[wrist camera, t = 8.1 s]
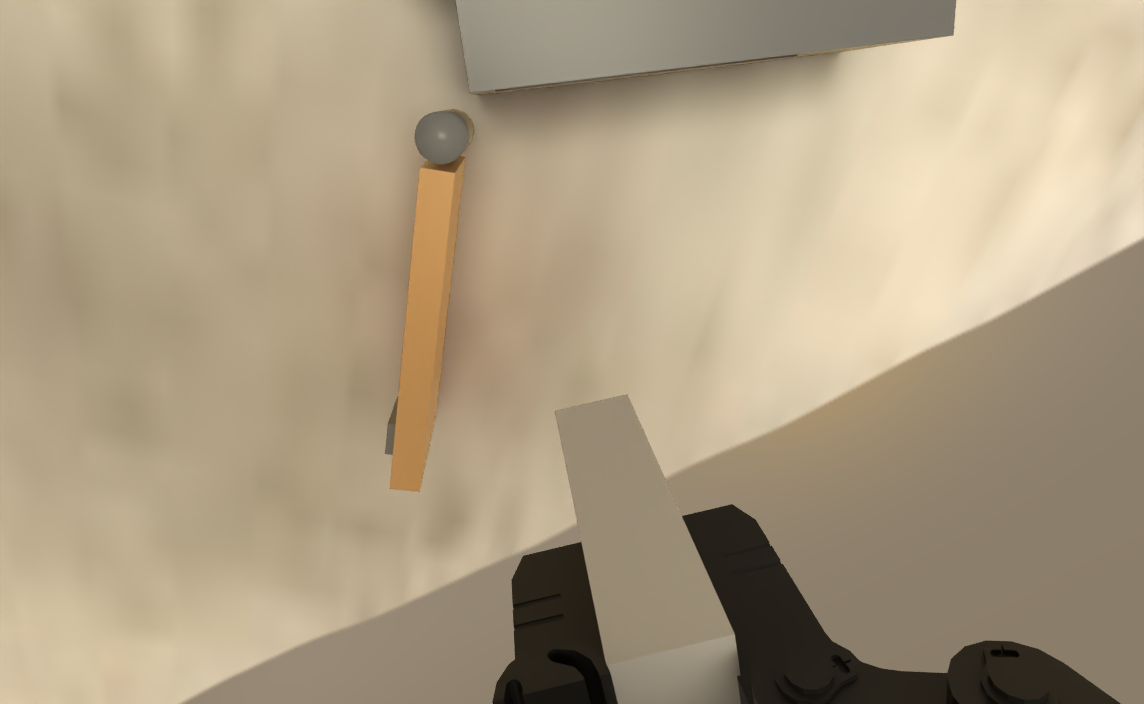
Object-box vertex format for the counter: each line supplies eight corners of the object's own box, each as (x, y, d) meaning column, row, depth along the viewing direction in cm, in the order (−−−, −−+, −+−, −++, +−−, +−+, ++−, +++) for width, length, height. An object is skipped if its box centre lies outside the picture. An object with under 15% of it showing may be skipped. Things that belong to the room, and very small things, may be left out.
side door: (430, 104, 25) (407, 106, 19) (476, 113, 25) (468, 116, 19) (401, 409, 29) (374, 490, 23) (440, 414, 29) (425, 495, 23)
